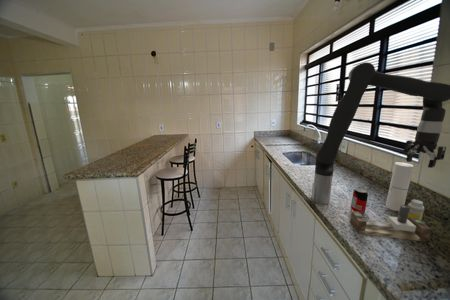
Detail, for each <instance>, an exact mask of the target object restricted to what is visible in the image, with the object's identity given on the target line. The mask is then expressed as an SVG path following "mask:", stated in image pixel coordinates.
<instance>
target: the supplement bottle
mask: <svg viewBox="0 0 450 300" xmlns="http://www.w3.org/2000/svg"><path fill="white" fill-rule="evenodd" d="M407 206H408V207H410V211H409V214H408V218H407V219H408V220H409V217H414V218H418V219H419V220H421V221H422V219H423V216H424V212H425V206H424V202H423V201H421V200H420V199H411V201H410V202H408V204H407Z"/></svg>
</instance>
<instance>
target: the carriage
mask: <svg viewBox="0 0 450 300" xmlns="http://www.w3.org/2000/svg"><path fill="white" fill-rule="evenodd" d="M409 211H410V207H408V205H405V204H404V205H401V206H400V210H399V211H398V215H397V216H390V215H389V216H387V221H386V222H388V224H391V226H392V227H393V228H394V229H396V230H404V231H412V232H415V229H416V226H415V225H414V224H413V223H411V222H410V221H409V220H408V219H407V218H408V214H409Z"/></svg>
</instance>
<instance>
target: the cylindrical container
mask: <svg viewBox="0 0 450 300" xmlns="http://www.w3.org/2000/svg"><path fill="white" fill-rule="evenodd" d="M413 170H414V165H413V164H411V163H409V162H402V161H401V162H399V161H396V162H394V166H393V170H392V173H391V174H392V175H391V180H390V184H389V189H388V193H387V198H386V203H385V208H387V209H389V210H391V211H395V212H399V210H400V206H401V205H405V203H406V199H407V196H408V191H409V187H410V182H411V179H412V174H413Z"/></svg>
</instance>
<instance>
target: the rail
mask: <svg viewBox="0 0 450 300" xmlns="http://www.w3.org/2000/svg"><path fill="white" fill-rule="evenodd" d="M409 221H410V222H411V223H413V224H414V225H415V226H416V229H415V232H412V231H404V230H396V229H394V228H393V227H392V226H391V224H390V223H389V222H388V223H387V222H379V221H377V222H376V221H372V220H371V221H368V220H366V218H364V216H363V214H362V213H359V212H357V211H353V210H351V214H350V219H349V223H350V225H351V226H352V227H353V229H354V231H355V232H356V233H358V234H365V235H371V236H372V235H373V236H380V237H386V238H387V237H388V238H396V239H401V240H402V239H403V240H411V241H418V242H419V241H420V242H427V243H428V241H429V240H430V239H429V238H430V236H431V232H432V228H431V227H429V226H428V225H427V224H426V223H425V222H424V221H422V219H421V220H419V219H418V218H414V217H409Z"/></svg>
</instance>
